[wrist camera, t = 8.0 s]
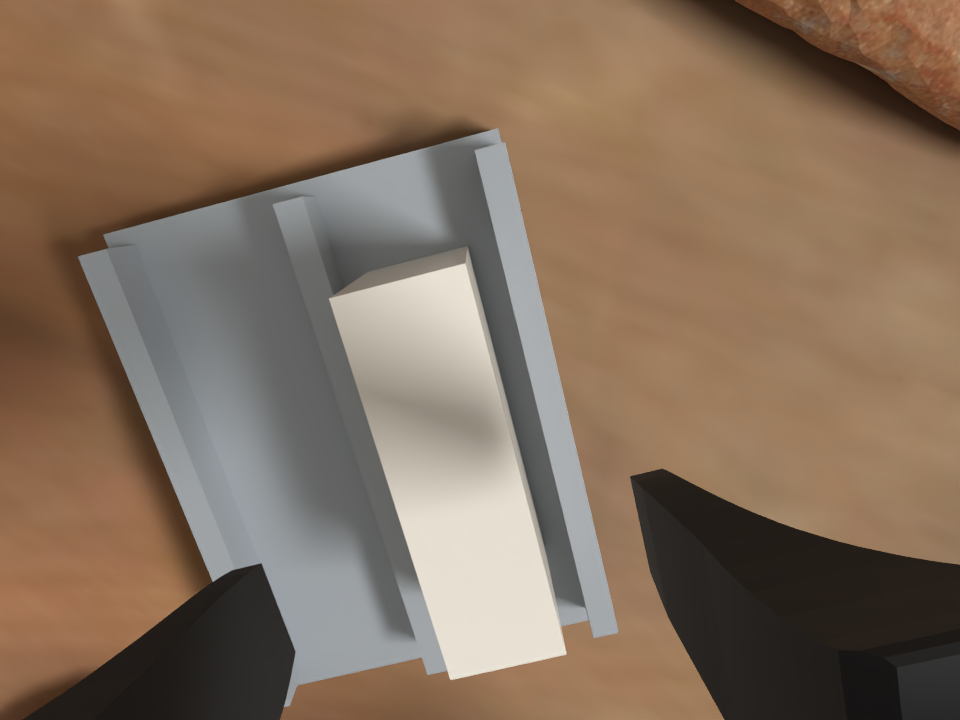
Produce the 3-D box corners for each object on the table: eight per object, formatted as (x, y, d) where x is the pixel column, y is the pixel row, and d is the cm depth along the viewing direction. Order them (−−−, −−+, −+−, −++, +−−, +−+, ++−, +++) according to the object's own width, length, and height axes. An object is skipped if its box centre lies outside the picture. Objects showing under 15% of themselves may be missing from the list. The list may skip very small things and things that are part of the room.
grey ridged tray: (605, 596, 22) (621, 645, 20) (293, 667, 23) (271, 723, 20) (496, 132, 18) (500, 121, 16) (122, 232, 19) (69, 237, 16)
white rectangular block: (544, 546, 20) (566, 654, 15) (456, 566, 20) (450, 680, 16) (467, 245, 18) (465, 263, 13) (367, 271, 18) (328, 298, 13)
